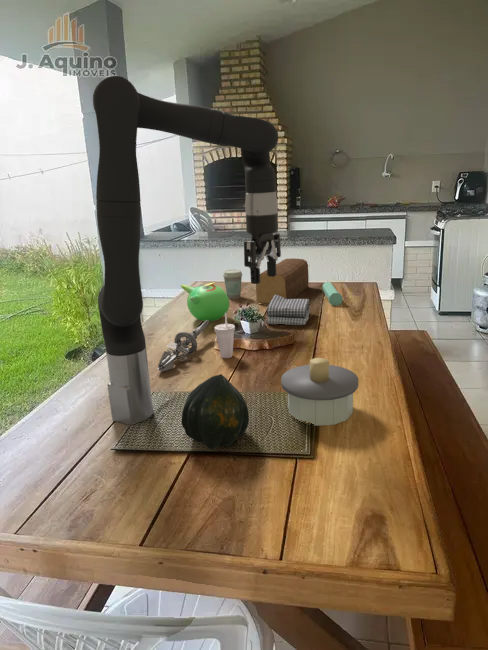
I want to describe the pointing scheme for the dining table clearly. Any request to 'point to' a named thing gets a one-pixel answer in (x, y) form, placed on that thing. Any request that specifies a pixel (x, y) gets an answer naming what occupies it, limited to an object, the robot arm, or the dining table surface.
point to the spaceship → (180, 347)
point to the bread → (283, 281)
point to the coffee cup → (233, 283)
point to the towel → (288, 311)
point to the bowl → (321, 409)
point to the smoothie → (225, 338)
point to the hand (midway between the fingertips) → (264, 279)
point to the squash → (215, 413)
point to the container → (332, 294)
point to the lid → (319, 381)
